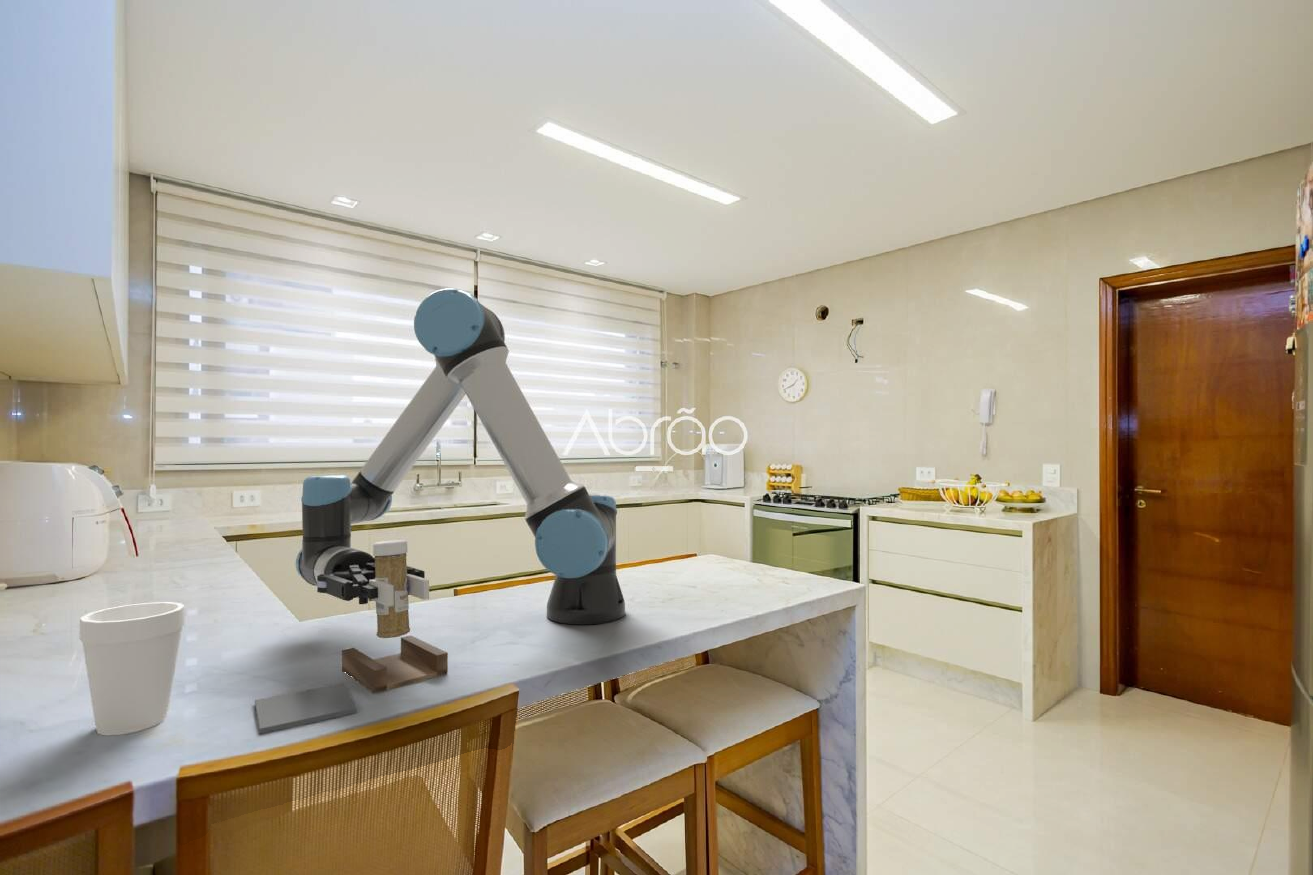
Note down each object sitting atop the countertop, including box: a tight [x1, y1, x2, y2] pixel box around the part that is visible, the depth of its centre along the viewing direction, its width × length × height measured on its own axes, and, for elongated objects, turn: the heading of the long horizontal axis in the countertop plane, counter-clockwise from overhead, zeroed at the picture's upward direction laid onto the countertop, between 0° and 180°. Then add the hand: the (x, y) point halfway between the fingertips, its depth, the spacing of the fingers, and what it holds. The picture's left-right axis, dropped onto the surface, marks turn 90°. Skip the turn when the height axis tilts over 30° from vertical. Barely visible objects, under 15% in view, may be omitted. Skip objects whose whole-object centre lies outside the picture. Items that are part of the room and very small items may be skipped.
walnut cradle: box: [341, 635, 449, 694], centre depth 90 cm, size 10×12×3 cm
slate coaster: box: [254, 682, 358, 735], centre depth 78 cm, size 10×10×1 cm
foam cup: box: [79, 601, 186, 736], centre depth 74 cm, size 10×9×13 cm
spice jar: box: [372, 539, 411, 639], centre depth 91 cm, size 5×5×13 cm
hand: (408, 592), depth 87 cm, fingers closed on spice jar, 4 cm apart
